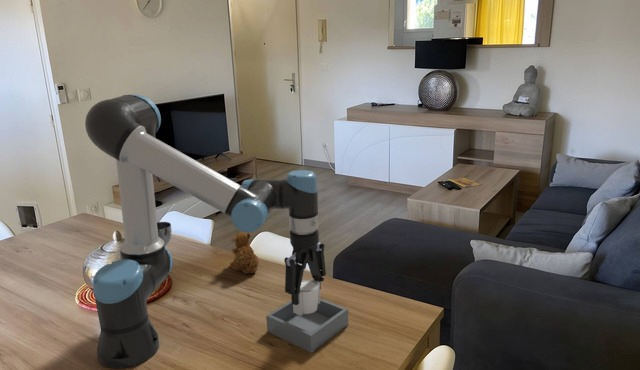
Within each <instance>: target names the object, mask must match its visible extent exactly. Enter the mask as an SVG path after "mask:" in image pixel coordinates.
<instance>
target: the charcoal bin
mask: <svg viewBox="0 0 640 370" xmlns="http://www.w3.org/2000/svg"><path fill="white" fill-rule="evenodd" d="M265 317H266V329H267V331H266V332H267V333H269V334H272V335H273V336H276V337H278V338H280V339H282V340H285V341H286V342H288V343H290V344H292V345H295V346H296V347H299V348H300V349H303V350H305V351H307V352H309V353H311V354H312V353H313V352H315V351H317V350H318V349H319V348H320V347H321V346H323V345H324V344H325V343H326V342H328V341H329V340H330V339H333V337H334V336H336V335H338V333H340V332H341V331H342V330H343V328H344V329H345V328H346V327H348V326H349V308H346V307H344V306H341V305H339V304H337V303H334V302H331V301H328V300H326V299H323V298H321V297H320V304H318V306H317V310H316V311H315V312H313V313H310V314H303V315H301V316H300V315H298V314H295V313H293V304H292V299H291V300H289V301H288V302H286V303H285V304H283V305H281V306H279V307H278V308H276V309H274V310H273V311H271V312H269V313H268V314H266V315H265ZM347 325H348V326H347Z"/></svg>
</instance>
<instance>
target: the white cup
mask: <svg viewBox="0 0 640 370" xmlns="http://www.w3.org/2000/svg"><path fill="white" fill-rule="evenodd" d="M318 290H319V284H318V283H317V282H315V281H312V279H310V280H309V279H302V282H301V287H300V292H301V293H302V309H303V314H310V313H313V312H315V311H316V310H317V306H318Z"/></svg>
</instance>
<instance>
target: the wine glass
mask: <svg viewBox="0 0 640 370" xmlns="http://www.w3.org/2000/svg"><path fill="white" fill-rule="evenodd" d="M157 230H158V237H159V238H161V239H162V240H163V241H164V244H165V246H166V247H167V245H168V244H169V242H170V241H171V240H172V239H171V238H172V225H171V222H169V221H158V222H157ZM174 264H175V261H174V260H172V266H173V265H174Z"/></svg>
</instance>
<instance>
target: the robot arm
mask: <svg viewBox="0 0 640 370" xmlns="http://www.w3.org/2000/svg"><path fill="white" fill-rule="evenodd" d="M161 122H162V118H161V113H160V110H159V108H158V107H157V105H156V104H155V103H154V102H153V101H152V100H151V99H150V98H148V97H147V96H144V95H141V94H123V95H121V96H118V97H113V98H108V99H105V100H101V101H98V102H97V103H95V104H94V105H92V107H91V108H89V110H88V112H87V113H86V116H85V124H84V125H85V131H86V133H87V137H88V138H89V139H90V141H91V143H92V144H93V145H95V146H96V147H97V149H99V150H101V152H103V153H105V154H106V155H108V156H109V157H111V158H113V159H115V162H116V170H117V172H116V173H117V179H118V188H119V198H120V206H121V215H122V224H123V225H122V226H123V232H124V233H123V235H124V241H123V242H122V244H121V243H120V246H119V253H120V259H118V260H115V261H112V262H110V263H107V264H105V265H103V266H102V267H100V268H99V269H98V270H97V271H96V272H95V274H94V276H93V280H92V286H93V287H92V293H93V296H94V299H95V304H96V310H97V316H98V323H99V327H100V333H99V339H98V342H97V343H98V344H97V347H96V354H97V359H98V362H99V363H100V365H102V366H103V367H105V368H110V369H124V368H129V367H134V366H137V365H139V364H142V363H144V362H146V361H148V360H149V359H151V358H152V357H153V356H154V355H155V354H156V353H157V352H158V350H159V348H160V339H159V334H158V332H157V331H156V329H155V327H154V325H153V324H152V322H151V320H150V318H149V312H148V305H147V304H148V303H147V301H148V299H149V297H151V296H152V295H153V293H154V292H155V291H156V290H158V288H159V287H160V286H161V285H162V284H163V282H164V281H165V280H166V279H167V277H168V276H169V274H170V272H171V270H172V267H173V265H172V261H173V257H172V253H171V251H170V250H169V249H168V248H167V245H166V246H165V244H164V241H163V240H162V239H161V238H159V237H158V230H157V221H158V219H157V209H156V198H155V188H154V187H155V186H154V177H153V176H156V177H158V178H159V179H161V180H163V181H165V182H166V183H168V184H169V185H170V184H171V186H174V187H176V188H177V189H179V190H181V191H182V192H184V193H187V194H188V195H190V196H192V197H194V198H195V199H198V200H200V201H201V202H204V203H205V204H207V205H209V206H210V207H212V208H214V209H215V210H218V211H220V212H221V213H223V214H225V215H227V216H229V217H230V218H231V222H232V223H233V225H234V227H236V229H237V230H239V231H240V232H244V233H254V232H256V231H258V230H259V229H260V228H261V227H262V226H263V225H264V224H265V223H266V222H267V220H268V218H269V216H270V214H271V212H272V210H273V209H275V210H282V209H284V210H286V209H288V219H289V221H288V223H289V230H290V231H289V240H290V245H291V247H292V253H291V255H290V257H287V256H286V257H285V258H284V263H285V264H284V265H285V276H284V277H285V279H284V281H285V282H284V285H285V286H284V292H285V293H287V294H289V295H291V300H292V304H293V313H295V314H298V315H300V316H301V315H303V309H302V293H301V292H300V287H301V282H302V281H303V275H304V271H305V270H306V268H307V265H308V269H309V271H310V274H311V277H312V278H311V280H312V281H315V282H317V283H318V284H319V290H318V304H320V298H321V290H322V286H321V283H322V282H324V281H325V278H324V277H325V276H326V274H327V271H326V262H325V261H326V260H325V252H324V251H325V244H324V243H322V242H320V235H319V215H318V214H319V206H318V204H319V199H318V198H319V197H318V195H319V194H318V193H319V190H318V183H317V181H318V180H317V175H316V173H315V172H313V171H311V170H305V169H300V170H293V171H290V172H288V174H287V177H286V179H259V178H254V179H253V178H252V179H245V180H243V182H242V183H241V185H240V184H239V183H237V182H235V181H234V180H231V179H230V178H228V177H226V176H225V175H222V174H221V173H219V172H217V171H216V170H214V169H212V168H210V167H208V166H207V165H205V164H202V162H199V161H198V160H195V159H193V158H192V157H190V156H188V155H187V154H185V153H183V152H181V151H180V150H178V149H176V148H174V147H172V146H171V145H168V144H167V143H165V142H164V141H162V140H160V139H157V138H156V133H157V132H158V130H159V128H160V126H161Z"/></svg>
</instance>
